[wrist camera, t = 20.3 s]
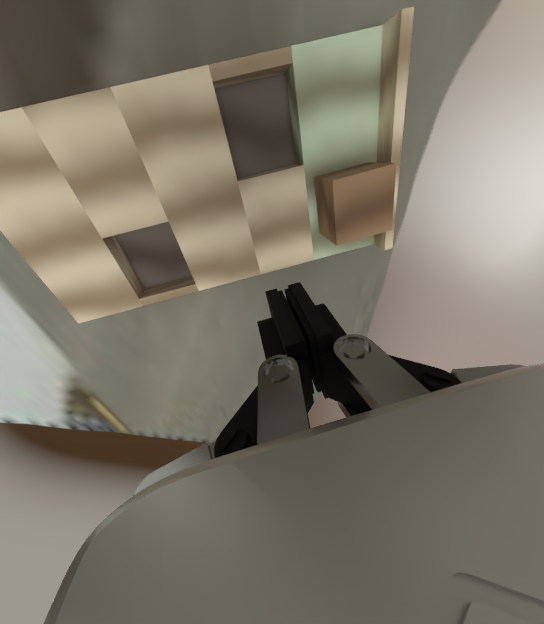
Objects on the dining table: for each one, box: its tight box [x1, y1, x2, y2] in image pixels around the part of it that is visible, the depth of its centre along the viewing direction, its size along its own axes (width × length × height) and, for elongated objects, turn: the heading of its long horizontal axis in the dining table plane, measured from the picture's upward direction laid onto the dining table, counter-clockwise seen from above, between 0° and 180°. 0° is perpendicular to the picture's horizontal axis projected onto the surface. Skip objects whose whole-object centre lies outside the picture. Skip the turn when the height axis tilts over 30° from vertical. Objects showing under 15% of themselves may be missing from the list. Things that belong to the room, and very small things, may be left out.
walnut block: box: [314, 162, 396, 246], centre depth 25 cm, size 6×6×5 cm
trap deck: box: [0, 7, 414, 323], centre depth 25 cm, size 19×39×6 cm, turn 102°
